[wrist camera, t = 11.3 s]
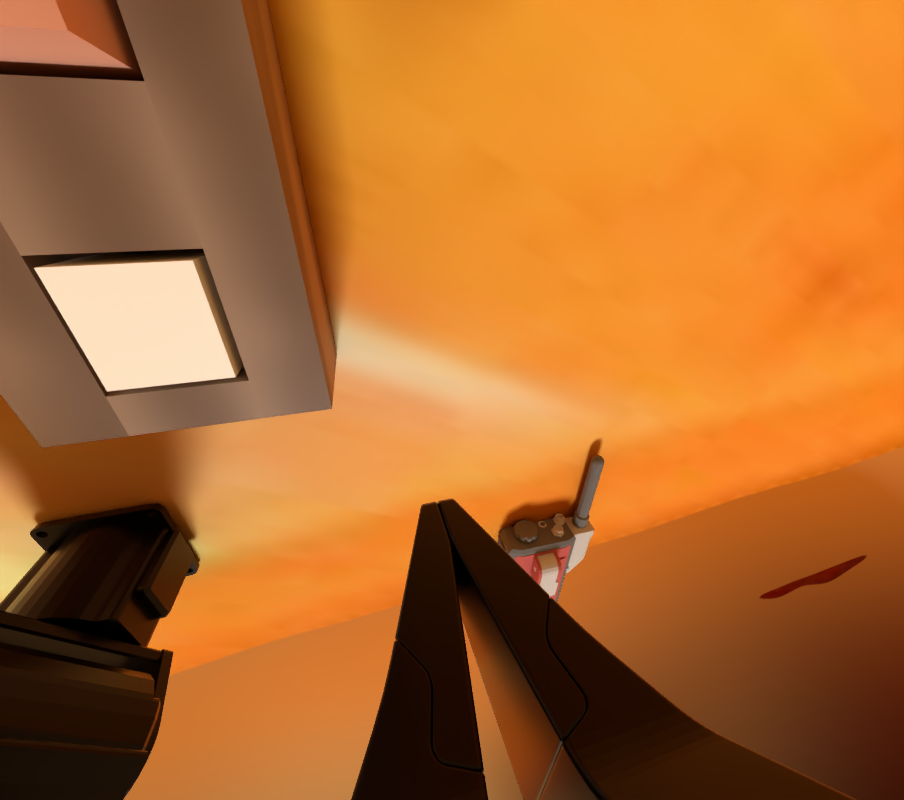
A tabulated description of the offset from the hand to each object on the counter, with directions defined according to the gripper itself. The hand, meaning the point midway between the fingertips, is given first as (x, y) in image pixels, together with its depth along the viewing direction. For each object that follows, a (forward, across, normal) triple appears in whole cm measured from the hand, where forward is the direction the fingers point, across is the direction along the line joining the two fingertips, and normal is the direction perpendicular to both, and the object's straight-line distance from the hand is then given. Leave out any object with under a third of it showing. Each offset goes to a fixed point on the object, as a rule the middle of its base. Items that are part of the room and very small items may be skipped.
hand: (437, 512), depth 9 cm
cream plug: (+12, +8, -4) cm, 15 cm away
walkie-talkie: (+14, -12, +21) cm, 28 cm away
